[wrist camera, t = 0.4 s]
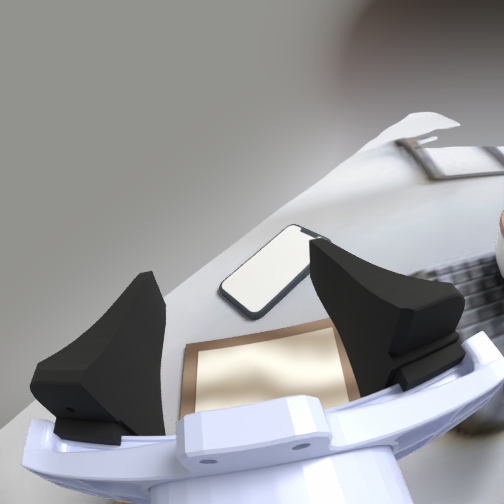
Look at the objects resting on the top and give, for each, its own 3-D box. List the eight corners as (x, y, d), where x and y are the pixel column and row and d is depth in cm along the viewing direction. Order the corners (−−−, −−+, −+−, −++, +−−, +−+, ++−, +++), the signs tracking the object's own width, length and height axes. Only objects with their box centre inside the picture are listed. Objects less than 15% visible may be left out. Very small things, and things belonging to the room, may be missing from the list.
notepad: (377, 447, 19) (378, 446, 19) (180, 467, 22) (176, 466, 22) (346, 316, 31) (346, 312, 31) (188, 346, 34) (184, 343, 34)
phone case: (258, 325, 35) (336, 248, 40) (254, 319, 34) (335, 241, 39) (218, 292, 41) (293, 228, 46) (214, 285, 40) (291, 221, 45)
